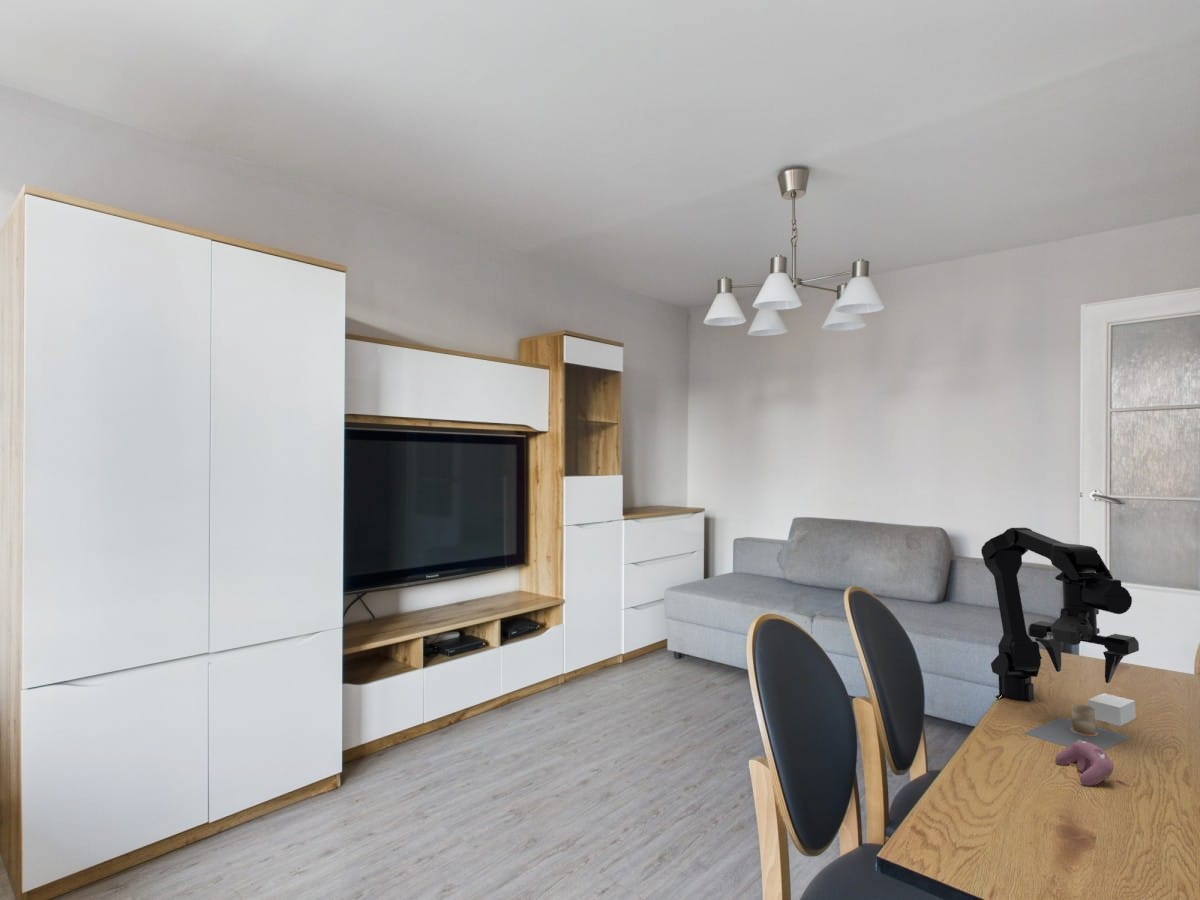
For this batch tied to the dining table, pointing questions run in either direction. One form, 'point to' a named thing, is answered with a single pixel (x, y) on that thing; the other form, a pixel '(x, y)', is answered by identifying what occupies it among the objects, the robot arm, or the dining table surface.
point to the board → (1075, 734)
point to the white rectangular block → (1113, 709)
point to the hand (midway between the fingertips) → (1082, 676)
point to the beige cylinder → (1083, 719)
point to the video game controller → (1087, 761)
